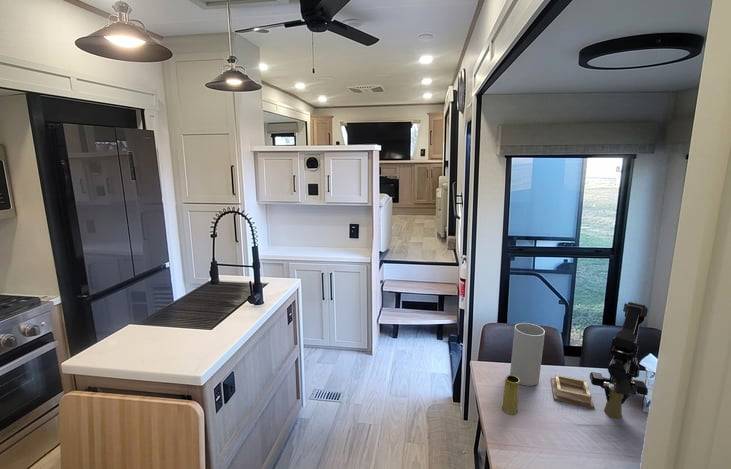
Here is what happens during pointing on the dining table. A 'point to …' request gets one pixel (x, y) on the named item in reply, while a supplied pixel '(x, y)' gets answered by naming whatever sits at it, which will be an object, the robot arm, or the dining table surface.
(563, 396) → the socket block
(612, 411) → the cork
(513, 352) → the cylinder vase
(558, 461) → the dining table surface
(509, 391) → the vase
